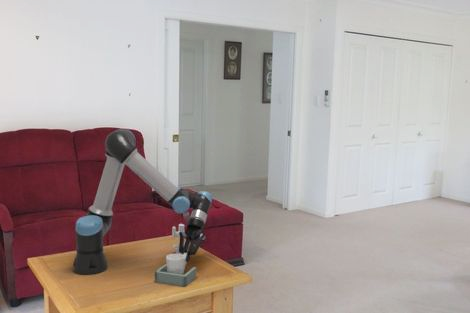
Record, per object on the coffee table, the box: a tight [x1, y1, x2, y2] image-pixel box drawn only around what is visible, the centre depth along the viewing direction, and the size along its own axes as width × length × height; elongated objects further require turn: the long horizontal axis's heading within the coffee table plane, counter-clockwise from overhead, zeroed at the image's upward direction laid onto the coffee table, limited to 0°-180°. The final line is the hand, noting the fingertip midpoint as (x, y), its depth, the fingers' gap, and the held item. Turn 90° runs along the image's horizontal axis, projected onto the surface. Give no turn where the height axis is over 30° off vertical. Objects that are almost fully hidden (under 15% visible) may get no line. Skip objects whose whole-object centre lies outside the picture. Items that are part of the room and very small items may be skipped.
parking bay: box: [154, 262, 197, 288], centre depth 206 cm, size 14×11×4 cm
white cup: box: [166, 253, 185, 275], centre depth 206 cm, size 8×8×10 cm
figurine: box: [171, 223, 189, 254], centre depth 239 cm, size 7×9×15 cm
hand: (181, 267), depth 211 cm, fingers closed
